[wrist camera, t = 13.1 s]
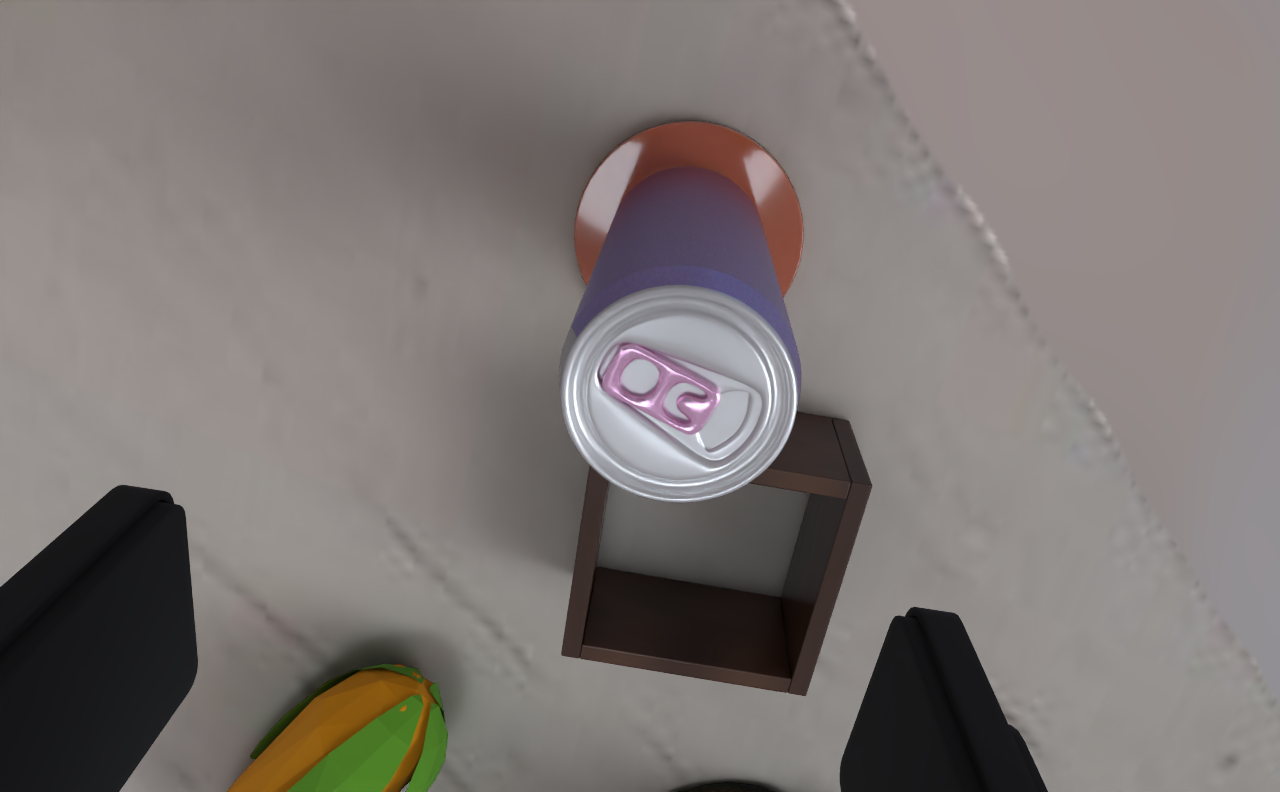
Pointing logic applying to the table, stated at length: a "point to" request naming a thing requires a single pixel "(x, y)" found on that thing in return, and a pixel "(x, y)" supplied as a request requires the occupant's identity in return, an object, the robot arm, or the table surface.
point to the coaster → (703, 150)
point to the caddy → (721, 618)
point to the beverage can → (681, 344)
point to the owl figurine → (728, 788)
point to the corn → (355, 737)
